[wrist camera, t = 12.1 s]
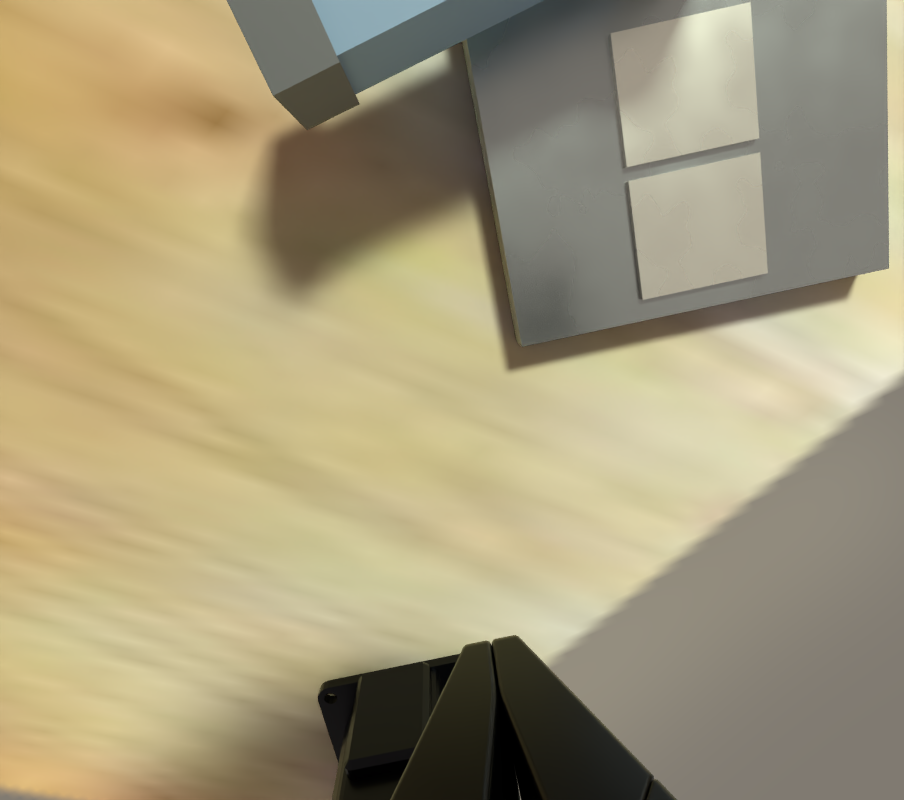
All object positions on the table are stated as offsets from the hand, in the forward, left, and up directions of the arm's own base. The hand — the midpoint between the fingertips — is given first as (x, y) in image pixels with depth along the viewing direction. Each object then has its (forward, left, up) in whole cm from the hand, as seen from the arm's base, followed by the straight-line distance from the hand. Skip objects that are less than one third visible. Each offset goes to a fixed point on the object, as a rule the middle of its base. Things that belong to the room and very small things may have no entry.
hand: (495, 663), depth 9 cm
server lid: (+9, -9, -12) cm, 17 cm away
